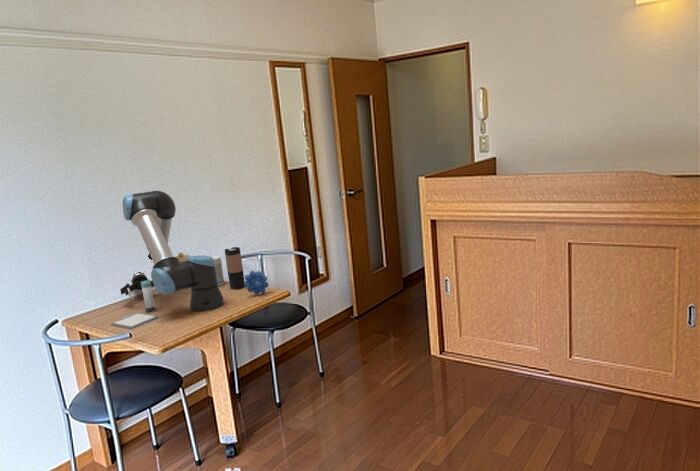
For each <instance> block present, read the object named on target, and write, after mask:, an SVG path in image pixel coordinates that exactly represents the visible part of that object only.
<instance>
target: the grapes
mask: <svg viewBox="0 0 700 471" xmlns="http://www.w3.org/2000/svg"><path fill="white" fill-rule="evenodd" d="M244 285H245V287H246V288H247V291H248V293H253V294H254V295H256V296H258V295H260V293H261V294H264V293H266V291H267V290H266V289H267V288H268V287H269V283H268V278H267V276H266V275H263V273H262V271H259V270H257V271H254V270H251V271H249V274H246V275H244Z"/></svg>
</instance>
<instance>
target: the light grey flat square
mask: <svg viewBox="0 0 700 471" xmlns="http://www.w3.org/2000/svg"><path fill="white" fill-rule="evenodd" d="M159 318H160V316H159V315H154V314H147V313H141V312H137V313H135V314H128V315H126V316H123V317H121V318H119V320H117V321H115V322H112V323H110V326H112V327H117V328H123V329H128V330H133V329H135V328H137V327H140V326H143V325H144V324H147V323H149V322H152V321H154V320H157V319H159Z"/></svg>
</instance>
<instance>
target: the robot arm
mask: <svg viewBox="0 0 700 471" xmlns="http://www.w3.org/2000/svg"><path fill="white" fill-rule="evenodd" d="M122 211H123V218H124V219H125V221H130V222H131V224H132V225H134V226H135V227H136V228H138V231H139V233H140V235H141V238H142V240H143V242H144V244H145V247H146V249H148V251H149V255H148V257H149V259H151V260H153V262H152V263H153V266H152V270H151V273H150V276H151V277H150V278H151V279H150V281H151V287H155V290H157V292H158V293H160V294H162V295H166V294H172V293H175V292H178V291H182V290H186V289H189V288H190V289H191V294H190V295H191V296H190V301H189V308H190V310H191V311H194V312H203V311H209V310H213V309H217V308H219V307H221V306H223V305H224V304H225V299H224V298H225V297H224V296H223V294H222V292H221V290H220V288H219V286H218V284H217V277H216V270H215V264H214V260H213V258H212V257H210V256H211V255H189V256H190V257H187V259H186V262H182V263H180V261H179V259H178V258H177V257H176V256H174V255H173V253H172V250H171V247H170V246H169V245H168V243H169V238H170V232H171V227H172V220H173V218H174V217H175V216H176V203H175V201H174V200H173V198H172V197H171V196H170V195H169V194H167V193H166V192H164V191H161V190H152V191H145V192H138V193H130V194H127V195H124V197H123V198H122ZM146 280H149V279H148V277H147V276H146V274H144V273H141V272H138V273H136V274H134V275H133V277H132V280H131V281H130V282H131V284H130V283H128V282H127V283H125V285H124V286H123V287H121V288H120V294H121V295H124V294H125V296H128V297H129V298H130V297H132V292H133V291H142V287H141V282H142V281H146Z"/></svg>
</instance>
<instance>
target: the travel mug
mask: <svg viewBox="0 0 700 471" xmlns="http://www.w3.org/2000/svg"><path fill="white" fill-rule="evenodd" d="M224 255H225V261H226V264H225V265H226V271H227V276H228V281H229V282H228V283H229V287H230V289H231V290H233V291H234V290H239V289H243V288H245V287H246V286H245V285H244V282H245V274H244V267H243V261H242V253H241V248H240V247H239V246H238V247H237V246H235V247H234V246H233V247H231V248H225V249H224Z"/></svg>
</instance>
